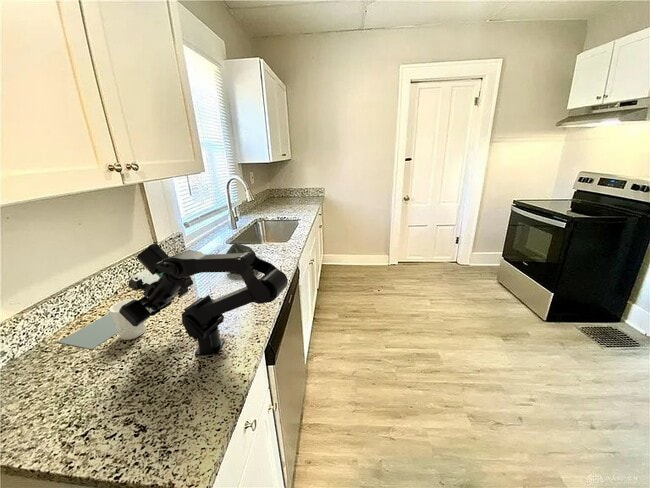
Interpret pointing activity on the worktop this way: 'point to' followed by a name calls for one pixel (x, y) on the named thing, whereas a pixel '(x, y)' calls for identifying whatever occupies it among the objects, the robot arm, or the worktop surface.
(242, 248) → the squash
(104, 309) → the worktop surface
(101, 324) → the mat
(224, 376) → the worktop surface
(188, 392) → the worktop surface
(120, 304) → the white cup
